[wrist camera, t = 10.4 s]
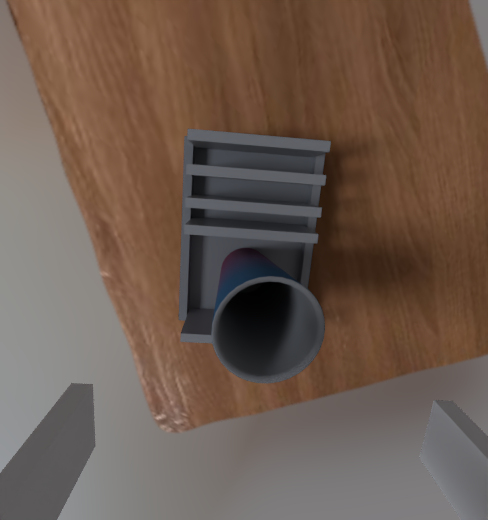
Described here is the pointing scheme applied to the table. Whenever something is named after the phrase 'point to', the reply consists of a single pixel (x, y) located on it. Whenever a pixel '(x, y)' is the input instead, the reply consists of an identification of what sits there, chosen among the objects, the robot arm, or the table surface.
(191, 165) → the rack
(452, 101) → the table surface
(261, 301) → the cup
